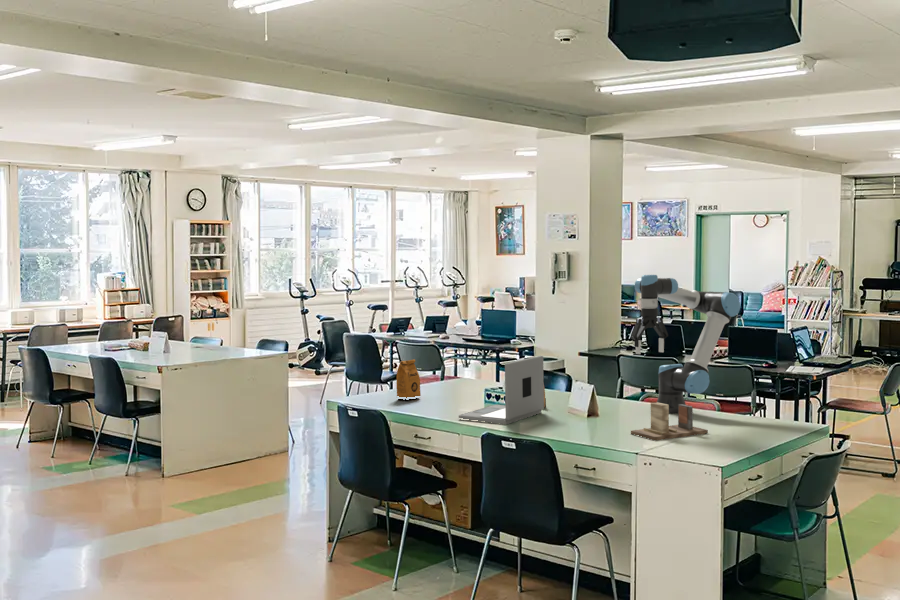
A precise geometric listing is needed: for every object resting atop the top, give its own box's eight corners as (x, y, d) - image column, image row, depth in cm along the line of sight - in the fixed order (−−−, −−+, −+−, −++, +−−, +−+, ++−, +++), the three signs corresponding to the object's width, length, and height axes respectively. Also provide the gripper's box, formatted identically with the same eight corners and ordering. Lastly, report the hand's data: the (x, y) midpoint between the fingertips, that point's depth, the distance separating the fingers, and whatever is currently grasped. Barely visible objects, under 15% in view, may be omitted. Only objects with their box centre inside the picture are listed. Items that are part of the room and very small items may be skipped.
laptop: (495, 409, 460) (494, 353, 459) (544, 413, 445) (543, 355, 443) (457, 420, 431) (456, 360, 429) (508, 425, 415) (507, 363, 414)
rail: (682, 427, 403) (682, 401, 402) (707, 433, 388) (707, 407, 388) (630, 434, 390) (630, 407, 389) (654, 440, 375) (654, 413, 375)
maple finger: (658, 429, 391) (658, 402, 390) (669, 432, 385) (669, 404, 384) (650, 430, 389) (650, 403, 388) (661, 433, 383) (661, 405, 382)
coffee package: (423, 399, 494) (422, 359, 493) (406, 402, 485) (405, 361, 484) (411, 397, 501) (410, 358, 500) (394, 400, 492) (393, 360, 491)
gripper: (632, 309, 409) (633, 355, 410) (675, 307, 420) (676, 352, 421) (622, 308, 416) (623, 354, 417) (665, 306, 427) (665, 350, 428)
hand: (649, 353), depth 419 cm, fingers open, 13 cm apart
